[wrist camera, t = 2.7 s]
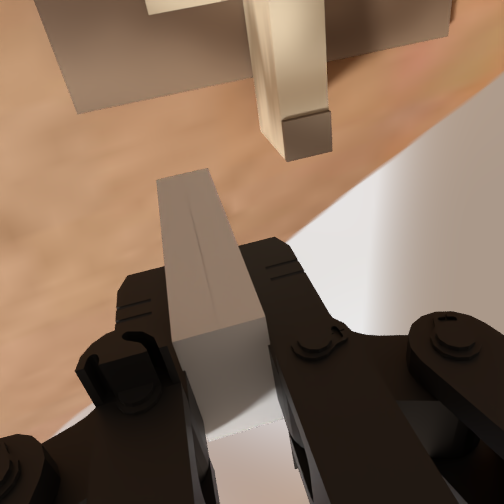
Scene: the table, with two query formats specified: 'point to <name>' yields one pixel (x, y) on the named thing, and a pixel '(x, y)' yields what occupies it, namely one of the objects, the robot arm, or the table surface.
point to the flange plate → (284, 71)
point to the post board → (203, 43)
